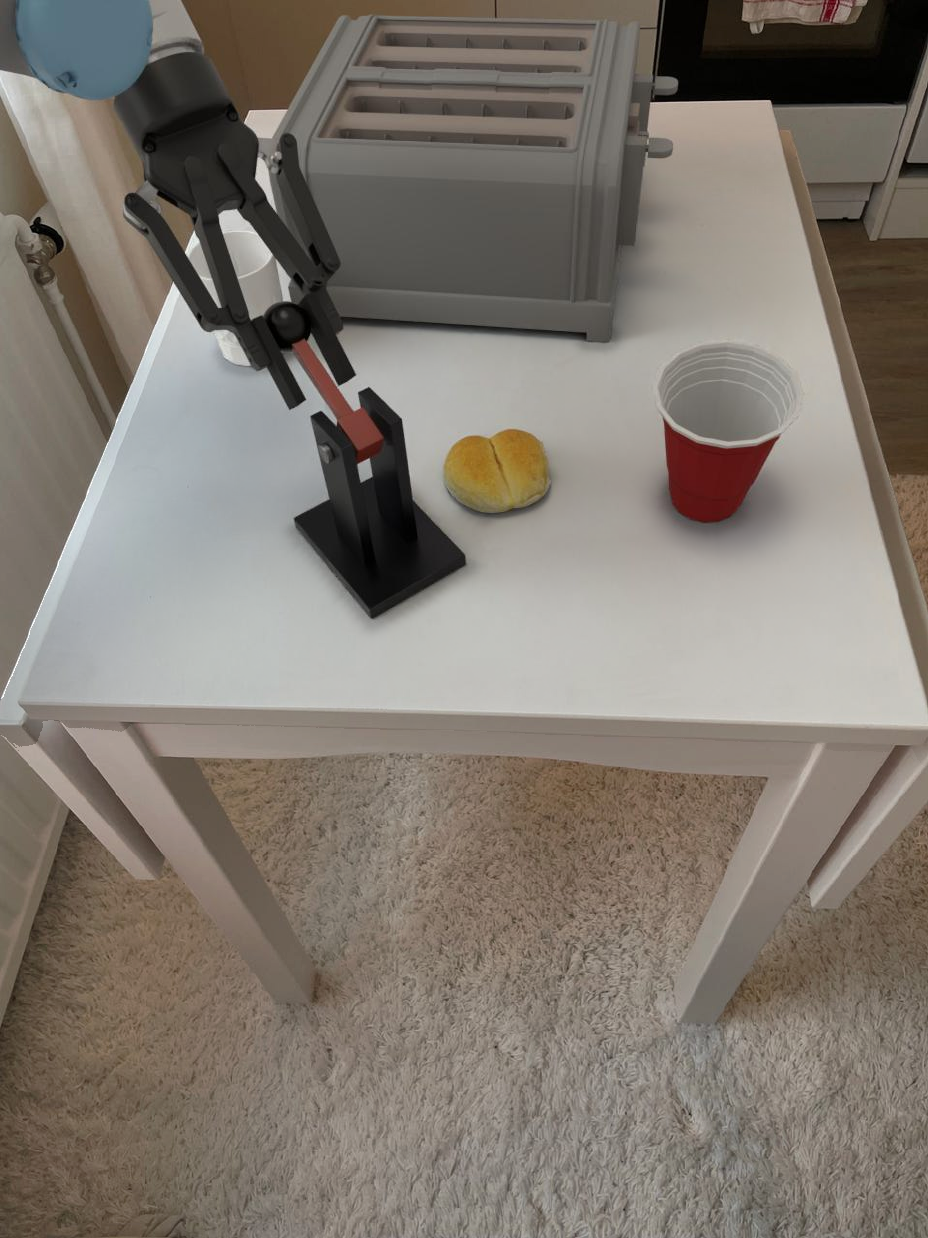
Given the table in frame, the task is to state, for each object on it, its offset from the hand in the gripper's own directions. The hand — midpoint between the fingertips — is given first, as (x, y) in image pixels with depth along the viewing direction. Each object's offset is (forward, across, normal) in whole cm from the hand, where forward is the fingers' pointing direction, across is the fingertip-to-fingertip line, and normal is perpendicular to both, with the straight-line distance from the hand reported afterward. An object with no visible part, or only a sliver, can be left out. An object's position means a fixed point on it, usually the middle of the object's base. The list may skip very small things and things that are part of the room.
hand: (322, 392), depth 70 cm
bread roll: (+13, +12, +5) cm, 18 cm away
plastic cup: (+21, +24, -3) cm, 32 cm away
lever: (0, 0, 0) cm, 1 cm away
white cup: (-8, +4, +26) cm, 28 cm away
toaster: (-8, +32, +26) cm, 42 cm away
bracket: (+13, 0, +5) cm, 14 cm away
